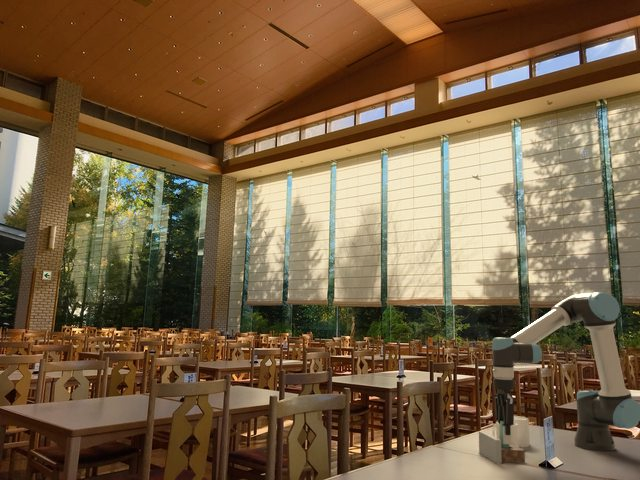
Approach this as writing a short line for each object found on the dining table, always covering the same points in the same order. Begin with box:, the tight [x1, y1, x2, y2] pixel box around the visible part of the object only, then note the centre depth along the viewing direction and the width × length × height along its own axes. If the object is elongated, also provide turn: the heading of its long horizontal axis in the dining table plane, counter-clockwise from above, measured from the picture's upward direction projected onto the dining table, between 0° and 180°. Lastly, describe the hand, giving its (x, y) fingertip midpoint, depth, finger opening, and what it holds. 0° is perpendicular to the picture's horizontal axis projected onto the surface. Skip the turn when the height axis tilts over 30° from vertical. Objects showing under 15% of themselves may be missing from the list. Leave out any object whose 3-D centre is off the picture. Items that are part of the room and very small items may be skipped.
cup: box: [492, 421, 518, 447], centre depth 208 cm, size 8×12×10 cm
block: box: [501, 444, 526, 463], centre depth 191 cm, size 10×10×4 cm
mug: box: [514, 415, 531, 448], centre depth 219 cm, size 14×10×11 cm
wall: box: [478, 430, 503, 465], centre depth 191 cm, size 2×16×8 cm, turn 4°
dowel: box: [500, 421, 509, 448], centre depth 192 cm, size 3×3×13 cm
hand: (505, 442), depth 192 cm, fingers closed on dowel, 3 cm apart
